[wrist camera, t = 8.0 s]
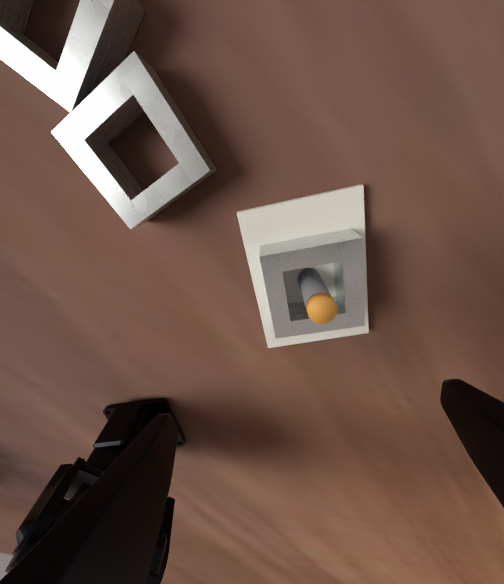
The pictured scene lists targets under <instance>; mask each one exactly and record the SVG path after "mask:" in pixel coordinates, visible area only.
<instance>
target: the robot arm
mask: <svg viewBox="0 0 504 584" xmlns="http://www.w3.org/2000/svg"><path fill="white" fill-rule="evenodd" d="M440 401H441V405H442V407H443V409H444V411H445V413H446V414H447V416H448V418H449V420H450V422H451V424H452V425H453V427H454V429H455V431H456V433H457V435H458V436H459V438H460V440H461V442H462V444H463V446H464V447H465V449H466V451H467V453H468V454H469V456H470V458H471V459H472V461H473V463H474V464H475V466H476V467H477V469H478V470H479V472H480V473H481V475H482V476H483V478H484V479H485V481H486V482H487V484H488V485H489V486H490V488H491V489H492V491H493V492H494V494H495V495H496V497H497V498H498V500H499V501H500V503H501V504H502V506H503V507H504V403H503V402H502V401H500V400H498V399H496V398H494V397H492V396H490V395H488V394H487V393H485V392H483V391H481V390H479V389H477V388H475V387H473V386H472V385H470V384H468V383H466V382H464V381H462V380H460V379H449V380H444V381H443V383H442V390H441V397H440ZM103 413H104V415H105V416H106V418H107V419H108V422H107V424H106V425H105V427H104V428H103V430H102V432H101V433H100V435H99V437H98V438H97V440H96V442H95V443H94V445H93V447H94V450H93V452H92V453H91V455H90V457H89V458H88V460H87V462H86V461H85V459H82V458H80V457H78V458H77V460H76V461H75V462H74V464H64V465H60V467H59V468H58V470H57V471H56V473H55V474H54V475H53V477H52V478H51V480H50V481H49V483H48V484H47V486H46V487H45V489H44V490H43V492H42V493H41V495H40V496H39V498H38V499H37V501H36V502H35V504H34V505H33V507H32V508H31V510H30V512H29V513H28V515H27V516H26V518H25V519H24V521H23V522H22V524H21V525H20V527H19V528H18V530H17V532H16V541H17V546H16V548H15V550H14V551H13V553H12V554H14V556H13V558H12V560H11V561H10V563H9V565H8V567H7V569H6V571H5V572H8V574H7V575H5V576H4V577H3V578H2V579H1V580H0V584H160V583H161V580H162V578H163V574H164V571H165V568H166V564H167V559H168V553H169V545H170V536H171V528H172V519H173V511H174V502H175V499H173V498H171V497H168V493H169V488H170V484H171V478H172V472H173V465H174V459H175V452H176V447H180V446H184V444H185V441H186V440H185V437H184V435H183V433H182V431H181V429H180V427H179V425H178V423H177V421H176V419H175V417H174V415H173V413H172V410H171V408H170V406H169V404H168V402H167V401H166V400H165V399H154V400H147V401H139V402H132V403H124V404H117V405H110V406H106V407H105V409H104V410H103ZM64 497H66V498H69V499H70V500H66V499H64Z"/></svg>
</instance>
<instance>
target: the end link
mask: <svg viewBox="0 0 504 584" xmlns="http://www.w3.org/2000/svg"><path fill="white" fill-rule="evenodd" d="M259 258H260V263H261V268H262V273H263V278H264V283H265V288H266V293H267V298H268V303H269V308H270V313H271V318H272V323H273V328H274V333H275V338H276V339H277V338H284V337H291V336H298V335H305V334H312V333H318V332H325V331H332V330H339V329H346V328H353V327H360V326H365V300H364V260H363V237H361V236H360V235H358V234H357V233H356V232H354V231H353V230H351V229H350V228H349V229H344V230H339V231H334V232H328V233H323V234H318V235H312V236H307V237H302V238H296V239H291V240H286V241H280V242H275V243H270V244H265V245H260V252H259ZM329 263H334V276H335V289H336V296H333V297H332V298H333V300H334V302H335V304H336V306H337V315H336V317H335V318H334V319H333V320H332V321H331V322H329V323H326V324H317V323H314V322H313V321H312V320H311V319H310V318H309V316H308V312H307V309H306V306H305V303H304V301H302V302H296V303H289V304H288V303H287V297H286V291H285V285H284V279H283V273H282V272H284V271H289V270H295V269H301V268H307V267H312V266H318V265H324V264H329Z"/></svg>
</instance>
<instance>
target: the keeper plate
mask: <svg viewBox="0 0 504 584" xmlns="http://www.w3.org/2000/svg"><path fill="white" fill-rule="evenodd" d="M237 217H238V221H239V225H240V229H241V234H242V238H243V242H244V247H245V251H246V255H247V259H248V264H249V268H250V272H251V277H252V281H253V285H254V289H255V294H256V298H257V302H258V306H259V311H260V315H261V319H262V324H263V328H264V332H265V336H266V341H267V345H268V348H272V347H279V346H285V345H292V344H298V343H305V342H312V341H318V340H325V339H331V338H338V337H344V336H351V335H358V334H364V333H369V328H368V299H367V270H366V242H365V213H364V185H361V184H359V185H355V186H350V187H346V188H341V189H337V190H332V191H328V192H323V193H319V194H314V195H310V196H305V197H300V198H296V199H291V200H287V201H282V202H278V203H273V204H269V205H264V206H260V207H255V208H251V209H246V210H242V211H237ZM349 228H350V229H351V230H353V231H354V232H356V233H357V234H358V235H360V236H361V237H363V260H364V300H365V326H360V327H353V328H346V329H339V330H332V331H325V332H318V333H312V334H305V335H298V336H291V337H284V338H277V339H276V338H275V333H274V328H273V323H272V318H271V313H270V308H269V303H268V298H267V293H266V288H265V283H264V278H263V273H262V268H261V263H260V258H259V252H260V245H265V244H270V243H275V242H280V241H286V240H291V239H296V238H302V237H307V236H312V235H318V234H323V233H328V232H334V231H339V230H344V229H349ZM282 273H283V279H284V285H285V291H286V297H287V303H288V304H289V303H296V302H302V301H304V303H305V306H306V309H307V312H308V316H309V318H310V319H311V320H312V321H313V322H314V323H317V324H326V323H329V322H331V321H332V320H333V319H334V318H335V317H336V315H337V306H336V304H335V302H334V300H333V298H332V297H333V296H336V289H335V276H334V263H329V264H324V265H318V266H312V267H307V268H301V269H295V270H289V271H284V272H282Z"/></svg>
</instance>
